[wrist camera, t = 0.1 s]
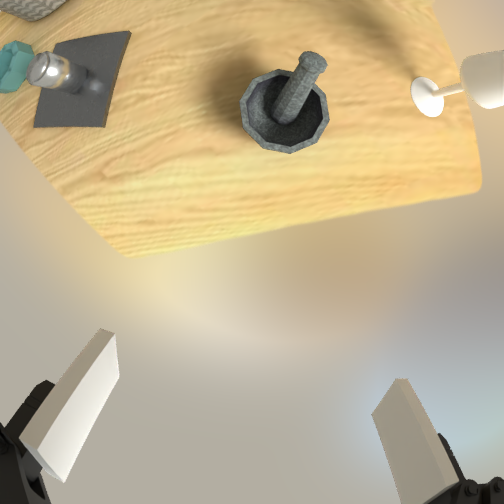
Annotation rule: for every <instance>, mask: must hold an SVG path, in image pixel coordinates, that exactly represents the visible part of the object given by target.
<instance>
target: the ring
mask: <svg viewBox="0 0 504 504" xmlns="http://www.w3.org/2000/svg"><path fill="white" fill-rule="evenodd" d="M33 58H34V53H33V51H32V48H31V46H30V45H28V44H25V43H22V42H19V41H16V40H15V41H13V42H11V43H9V44H6V45H4V47H3V48H2V49H1V51H0V93H10V92H14V91H17V89H18V88H19V87H20V85H21V84H22V82H23V81H24V80H25V79H26V71H27V68H28V65H29V64H30V62H31V60H32V59H33Z"/></svg>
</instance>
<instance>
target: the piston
mask: <svg viewBox="0 0 504 504" xmlns="http://www.w3.org/2000/svg"><path fill="white" fill-rule="evenodd" d="M131 34H132V33H131V32H130V31H123V32H115V33H107V34H100V35H94V36H89V37H83V38H78V39H74V40H69V41H65V42H61V43H57V44H56V45H55V48H54V51H53V53H51V52H48V51H46V52H43V53H39V54H37V55H36V56H35V57H34V58H33V59H32V60H31V62H30V64H29V65H28V68H27V71H26V78H27V80H28V82H29V83H30V84H31V85H35V86H40V87H42V90H41V94H40V98H39V102H38V107H37V111H36V116H35V122H34V127H33V128H43V127H101V128H105V125H106V120H107V116H108V111H109V107H110V102H111V98H112V94H113V90H114V87H115V83H116V79H117V76H118V72H119V69H120V66H121V63H122V59H123V56H124V53H125V50H126V47H127V45H128V42H129V39H130V36H131Z"/></svg>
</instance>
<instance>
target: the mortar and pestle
mask: <svg viewBox="0 0 504 504" xmlns="http://www.w3.org/2000/svg"><path fill="white" fill-rule="evenodd" d="M326 67H327V62H326V60H325V59H324V58H323V57H322V56H320V55H319V54H317V53H314V52H311V51H307V52H303V53H302V54H301V56H300V57H299V64H298V66H297V68H296V69H295V71H294V72H291V71H286V70H281V69H277V70H275V71H272V72H269V73H267V74H264V75H262V76H259V77H257V78H254V79H253V80H252V81H251V83H250V85H249V86H248V88H247V90H246V91H245V93H244V94H243V96H242V98H241V99H240V101H239V103H240V110H241V117H242V124H243V129H244V130H245V131H246V132H247V133H248V134H249V135H250V136H251V137H252V138H253V139H254V140H255V141H256V142H257V143H258V144H259V145H260V146H261V147H262V148H263V149H268V150H273V151H278V152H283V153H288V154H291V153H294V152H296V151H298V150H301V149H303V148H305V147H308V146H310V145H313V144H315V143H317V142H318V140H319V138H320V136H321V135H322V133H323V131H324V129H325V127H326V126H327V124H328V122H329V120H330V119H329V113H328V107H327V101H326V95H325V93H324V92H323V91H322V90H321V89H320V88H319V87H318V86H317V85H316V84H315V81H316V79H317V78H318V76H319V74H320V73H323V72H324V71H325V69H326Z"/></svg>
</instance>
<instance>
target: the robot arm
mask: <svg viewBox="0 0 504 504" xmlns="http://www.w3.org/2000/svg"><path fill="white" fill-rule="evenodd" d="M119 376H120V375H119V368H118V359H117V350H116V339H115V333H112V332H110V331H106V330H104V329H99V331H98V332H97V333H96V334H95V335H94V337H93V338H92V339H91V340H90V342H89V343H88V344H87V345H86V346H85V348H84V349H83V350H82V352H81V353H80V354H79V355H78V356H77V358H76V359H75V360H74V362H73V363H72V364H71V365H70V367H69V368H68V369H67V371H66V372H65V373H64V374H63V376H62V377H61V378H60V380H59V381H58V382H57V384H56V385H55V384H53V383H51V382H49V381H48V380H45V381H43V382H42V383H40V384H38V385H36V387H35V388H34V389H33V390H32V392H31V393H30V395H29V396H28V397H27V398H26V399H25V401H24V403H22V405H21V406H20V408H19V409H18V410H17V412H16V413H15V414H14V416H13V417H12V419H11V420H10V421H9V423H8V424H7V426H6V427H5V428H4V427H3V425H2V424H1V423H0V504H51V502H50V499H49V497H48V494H47V491H46V488H45V485H44V483H43V479H42V476H41V474H40V471H41V470H42V468H43V469H44V470H45V471H46V472H47V473H48V474H49V475H51V476H53V477H55V478H56V479H58V480H60V481H62V482H64V483H65V480H66V478H67V476H68V474H69V472H70V470H71V468H72V466H73V464H74V462H75V460H76V457H77V455H78V453H79V451H80V449H81V447H82V445H83V443H84V441H85V440H86V438H87V436H88V434H89V431H90V430H91V428H92V426H93V424H94V422H95V420H96V418H97V417H98V415H99V413H100V411H101V409H102V407H103V405H104V404H105V402H106V400H107V398H108V396H109V394H110V393H111V391H112V389H113V387H114V386H115V384H116V382H117V380H118V378H119ZM371 415H372V417H373V420H374V422H375V425H376V428H377V431H378V434H379V436H380V439H381V442H382V445H383V448H384V451H385V454H386V457H387V460H388V463H389V466H390V468H391V472H392V475H393V478H394V481H395V484H396V487H397V491H398V494H399V497H400V500H401V504H504V480H503V479H502V478H501V477H494V478H493V479H492V480H491V481H490V482H488V483H486V484H477V483H476V482H475V481H474V480H470V479H468V480H466V479H465V477H464V476H463V473H462V471H461V469H460V467H459V465H458V463H457V461H456V459H455V456H453V452H452V450H450V446H449V444H448V442H447V440H446V439H445V438H444V437H443V436H442V435H441V434H440V433H438V434H437V433H436V431H435V429H434V427H433V425H432V423H431V421H430V419H429V417H428V415H427V413H426V412H425V410H424V408H423V406H422V404H421V402H420V401H419V399H418V397H417V395H416V393H415V392H414V390H413V388H412V386H411V384H410V383H409V381H408V379H395V381H394V382H393V384H392V386H391V387H390V388H389V390H388V392H387V393H386V394H385V396H384V397H383V399H382V400H381V402H380V403H379V405H378V406H377V407H376V409H375V410H374V412H373V413H372V414H371Z"/></svg>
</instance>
